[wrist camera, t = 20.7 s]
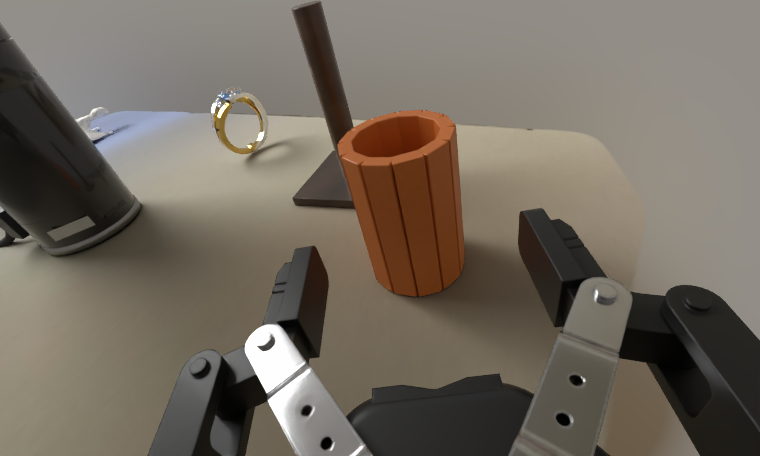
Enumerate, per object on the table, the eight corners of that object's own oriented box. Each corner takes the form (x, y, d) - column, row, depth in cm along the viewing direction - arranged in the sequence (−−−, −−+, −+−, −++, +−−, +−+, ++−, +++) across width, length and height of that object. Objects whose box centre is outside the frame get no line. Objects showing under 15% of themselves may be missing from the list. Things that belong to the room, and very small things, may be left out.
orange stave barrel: (361, 289, 24) (317, 165, 18) (390, 229, 28) (363, 113, 22) (454, 303, 21) (439, 165, 15) (470, 235, 26) (464, 107, 20)
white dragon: (19, 177, 57) (-3, 154, 54) (7, 167, 63) (-13, 146, 60) (128, 127, 67) (114, 106, 64) (110, 123, 72) (96, 103, 70)
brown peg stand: (295, 205, 34) (219, 29, 24) (334, 156, 40) (286, 2, 30) (383, 209, 30) (333, 7, 21) (411, 156, 36) (383, -18, 27)
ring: (269, 137, 48) (243, 77, 43) (283, 141, 46) (257, 78, 41) (225, 162, 45) (192, 100, 40) (238, 167, 43) (205, 102, 38)
